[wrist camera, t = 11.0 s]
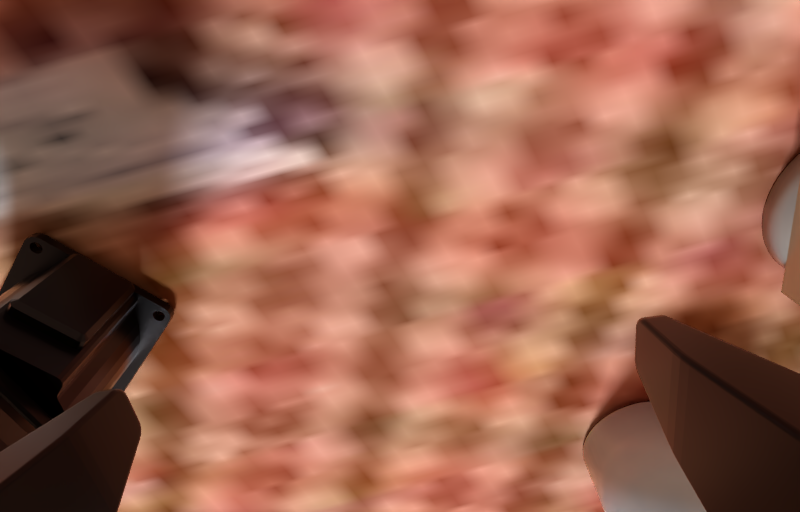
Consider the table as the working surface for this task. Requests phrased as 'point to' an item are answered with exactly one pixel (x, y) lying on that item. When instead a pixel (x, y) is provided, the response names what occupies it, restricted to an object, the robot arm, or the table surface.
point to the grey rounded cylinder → (636, 464)
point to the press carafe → (785, 227)
